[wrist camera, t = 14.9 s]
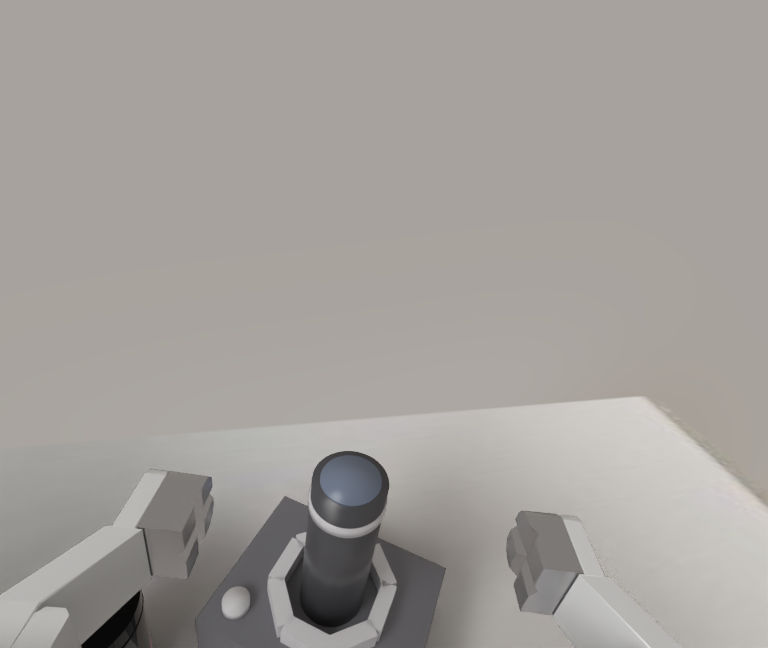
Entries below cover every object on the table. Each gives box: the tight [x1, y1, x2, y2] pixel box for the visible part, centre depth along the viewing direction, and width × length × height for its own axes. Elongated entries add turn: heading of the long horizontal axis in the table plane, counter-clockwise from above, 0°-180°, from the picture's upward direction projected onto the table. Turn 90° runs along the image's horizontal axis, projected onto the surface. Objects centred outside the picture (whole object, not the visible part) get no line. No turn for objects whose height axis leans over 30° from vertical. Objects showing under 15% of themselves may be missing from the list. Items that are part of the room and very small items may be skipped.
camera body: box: [195, 496, 446, 648], centre depth 36 cm, size 16×12×8 cm
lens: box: [300, 451, 389, 627], centre depth 31 cm, size 5×5×13 cm
